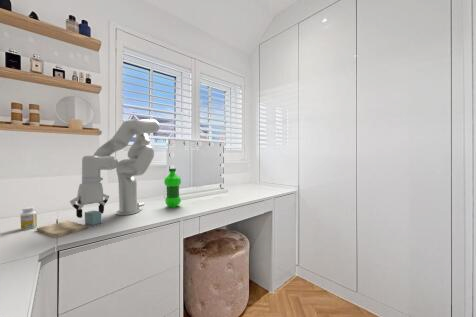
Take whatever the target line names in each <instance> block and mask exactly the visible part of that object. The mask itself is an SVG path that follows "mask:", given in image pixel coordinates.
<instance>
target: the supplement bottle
mask: <svg viewBox="0 0 476 317" xmlns="http://www.w3.org/2000/svg"><path fill="white" fill-rule="evenodd" d="M37 215H38V214H37V211H35V206H27V207H23V208H22V213H20V229H21V230H22V231H25V230H26V231H27V230H32V229H34V228H38V221H37V220H38V219H37V218H38V216H37Z"/></svg>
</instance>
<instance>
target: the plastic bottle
mask: <svg viewBox="0 0 476 317" xmlns="http://www.w3.org/2000/svg"><path fill="white" fill-rule="evenodd" d="M176 169H177V168H175V167H172V168H171V167H170V168H168V172H169V173H168V174H167V175H166V177H165V178H164V181H163V182H164V185H165V186H166V197H165V200H164V201H165V204H166V206H167V207H169V208H176V207H178V206H179V205H180V203H181V202H182V200H181V196H180V185H181V183H182V181H181V180H182V179H181V178H180V176H178V174H176Z"/></svg>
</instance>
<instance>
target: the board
mask: <svg viewBox="0 0 476 317" xmlns="http://www.w3.org/2000/svg"><path fill="white" fill-rule="evenodd" d="M86 229H88V225H87V224H82V223H78V222H74V221H71V220H65V221H61V222H57V223H53V224H48V225H45V226H41V227H40V226H39V227H36V232H39V233H42V234H44V235H47V236H50V237H53V238H60V237H63V236H66V235H69V234H73V233H76V232H79V231H83V230H86Z"/></svg>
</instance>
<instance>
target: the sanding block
mask: <svg viewBox="0 0 476 317" xmlns="http://www.w3.org/2000/svg"><path fill="white" fill-rule="evenodd" d="M84 223H85V224H84V225H86V226H90V225H91V227H95V226H98V224H99V225H101V224H102V213H101V212H99V210H90V211H85V212H84ZM94 225H95V226H94Z"/></svg>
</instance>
